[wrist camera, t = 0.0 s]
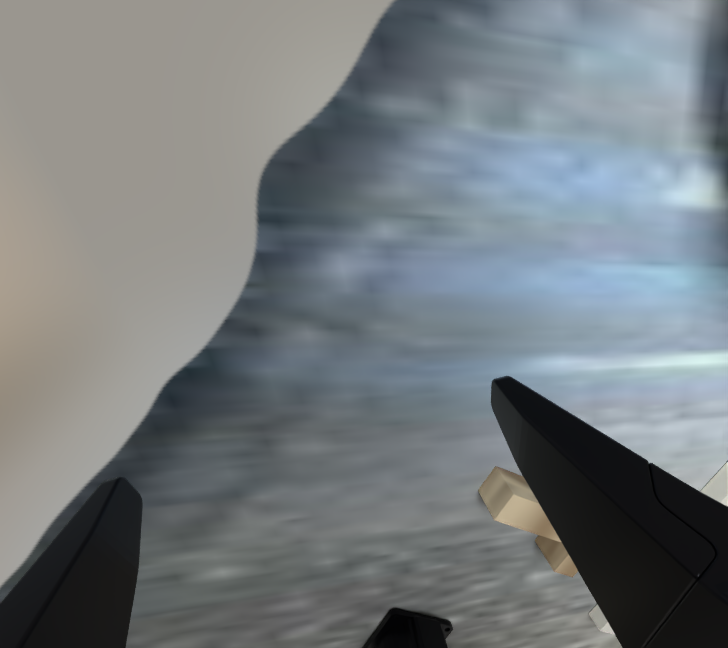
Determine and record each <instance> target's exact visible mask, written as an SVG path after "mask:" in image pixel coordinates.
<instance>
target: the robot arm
mask: <svg viewBox="0 0 728 648" xmlns="http://www.w3.org/2000/svg"><path fill="white" fill-rule="evenodd" d="M491 406H492V409H493V412H494V414H495V416H496V419H497V421H498V423H499V426H500V428H501V430H502V432H503V435H504V437H505V439H506V441H507V444H508V446H509V448H510V451H511V453H512V455H513V457H514V459H515V462H516V464H517V466H518V468H519V470H520V471H521V473H522V475H523V477H524V479H525V480H526V482H527V484H528V485H529V487H530V489H531V491H532V492H533V494H534V496H535V497H536V499H537V501H538V503H539V504H540V506H541V508H542V510H543V511H544V513H545V515H546V516H547V518H548V520H549V522H550V523H551V525H552V527H553V528H554V530H555V532H556V534H557V535H558V537H559V539H560V541H561V542H562V544H563V546H564V547H565V549H566V551H567V553H568V554H569V556H570V558H571V559H572V561H573V563H574V565H575V566H576V568H577V570H578V572H579V573H580V575H581V577H582V578H583V580H584V582H585V584H586V585H587V587H588V589H589V590H590V592H591V594H592V596H593V597H594V599H595V601H596V602H597V604H598V606H599V608H600V609H601V611H602V613H603V615H604V616H605V618H606V620H607V621H608V623H609V625H610V627H611V628H612V630H613V632H614V633H615V635H616V637H617V639H618V640H619V642H620V644H621V646H622V647H623V648H728V506H726V505H724V504H722V503H720V502H718V501H717V500H715V499H713V498H711V497H709V496H707V495H705V494H704V493H702V492H700V491H698V490H696V489H694V488H693V487H691V486H689V485H688V484H686V483H684V482H683V481H681V480H679V479H677V478H676V477H674V476H672V475H671V474H669V473H667V472H666V471H664V470H662V469H661V468H659V467H657V466H656V465H654V464H653V463H648V461H647V460H646V459H644V458H643V457H641V456H639V455H638V454H636V453H634V452H633V451H631V450H630V449H628V448H626V447H625V446H623V445H621V444H620V443H618V442H616V441H615V440H613V439H612V438H610V437H608V436H607V435H605V434H603V433H602V432H600V431H599V430H597V429H595V428H594V427H592V426H590V425H589V424H587V423H585V422H584V421H582V420H581V419H579V418H577V417H576V416H574V415H572V414H571V413H569V412H568V411H566V410H564V409H563V408H561V407H559V406H558V405H556V404H555V403H553V402H551V401H550V400H548V399H546V398H545V397H543V396H541V395H540V394H538V393H537V392H535V391H533V390H532V389H530V388H528V387H527V386H525V385H524V384H522V383H520V382H519V381H517V380H515V379H514V378H512V377H510V376H504V377H500V378H496V379H494V380H493V381H492V385H491ZM141 522H142V498H141V496H140V494H139V493H138V491H137V490H136V489H135V488H134V487H133V486H132V485H131V484H130V483H129V482H128V480H127V479H126V478H124V477H117V478H113V479H109V480H106V481H104V482H103V483H101V484H100V486H99V487H98V488H97V489H96V490H95V491H94V493H93V494H92V495H91V496H90V497H89V499H88V500H87V501H86V502H85V503H84V505H83V506H82V507H81V508H80V509H79V510H78V512H77V513H76V514H75V515H74V516H73V518H72V519H71V520H70V521H69V522H68V524H67V525H66V526H65V527H64V528H63V529H62V531H61V532H60V533H59V534H58V535H57V537H56V538H55V539H54V540H53V541H52V543H51V544H50V545H49V546H48V547H47V548H46V550H45V551H44V552H43V553H42V554H41V556H40V557H39V558H38V559H37V560H36V562H35V563H34V564H33V565H32V566H31V567H30V569H29V570H28V571H27V572H26V573H25V575H24V576H23V577H22V578H21V579H20V581H19V582H18V583H17V584H16V585H15V586H14V588H13V589H12V590H11V591H10V592H9V594H8V595H7V596H6V597H5V598H4V600H3V601H2V602H1V603H0V648H125V647H126V641H127V635H128V629H129V623H130V617H131V612H132V606H133V600H134V594H135V588H136V582H137V575H138V567H139V555H140V539H141ZM452 630H453V627H452V624H451V622H449V621H445V620H441V619H437V618H432V617H428V616H424V615H419V614H415V613H411V612H406V611H402V610H398V609H394V610H391V611H390V612H389V613H388V615H387V616H386V617H385V619H384V620H383V622H382V623H381V624H380V626H379V627H378V628H377V630H376V631H375V633H374V634H373V635H372V637H371V638H370V639H369V641H368V642H367V644H366V645H365V646H364V648H448V647H447V644H446V641H445V639H446V638H447V636H448V635H449V634H450V633H451V631H452Z"/></svg>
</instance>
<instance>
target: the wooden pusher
mask: <svg viewBox="0 0 728 648" xmlns="http://www.w3.org/2000/svg"><path fill="white" fill-rule="evenodd" d="M478 491H479V493H480V495H481V497H482V499H483V501H484V502H485V504H486V506H487V508H488V510H489V512H490V514H491V515H492V517H493V519H494V520H495V521H498V522H501V523H504V524H507V525H510V526H513V527H516V528H519V529H522V530H525V531H528V532H531V533H534V534H537V535H539V536H538V537H537V538H536V539H535V542H536V543H537V545H538V546H539V548H540V550H541V551H542V553H543V554H544V556H545V558H546V559H547V561H548V562H549V564H550V566H551V567H552V569H553V571H554V572H557V573H560V574H564V575H567V576H570V577H573V576H574V575H575V574H576V573H577V572H578V570H577V568H576V566H575V565H574V563H573V561H572V559H571V558H570V556H569V554H568V553H567V551H566V549H565V547H564V546H563V544H562V542H561V541H560V539H559V537H558V535H557V534H556V532H555V530H554V528H553V527H552V525H551V523H550V522H549V520H548V518H547V516H546V515H545V513H544V511H543V510H542V508H541V506H540V504H539V503H538V501H537V499H536V497H535V496H534V494H533V492H532V491H531V489H530V487H529V485H528V484H527V482H526V480H525V479H524V477H523V476H520V475H517V474H515V473H512V472H510V471H507V470H504V469H502V468H499V467H496V466H495V467H494V469H493V470H492V472H491V473H490V474H489V476H488V477H487V479H486V480H485V481H484V483H483V484H482V485H481V487H480V488H479V490H478Z"/></svg>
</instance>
